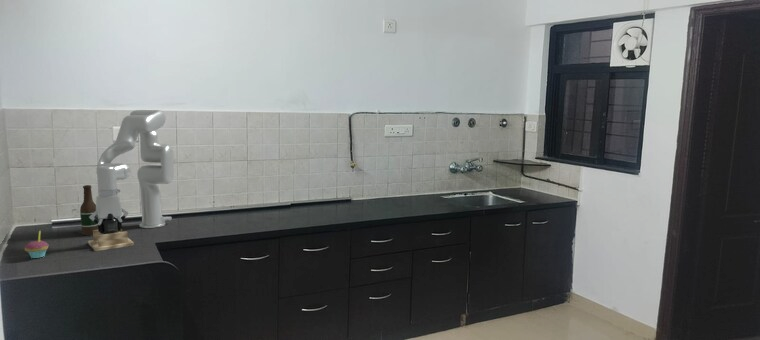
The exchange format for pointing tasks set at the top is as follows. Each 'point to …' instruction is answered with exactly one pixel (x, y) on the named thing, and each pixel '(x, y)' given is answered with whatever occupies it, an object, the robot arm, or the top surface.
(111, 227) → the supplement bottle
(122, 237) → the holder
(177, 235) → the top surface
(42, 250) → the cupcake
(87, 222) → the beer bottle
